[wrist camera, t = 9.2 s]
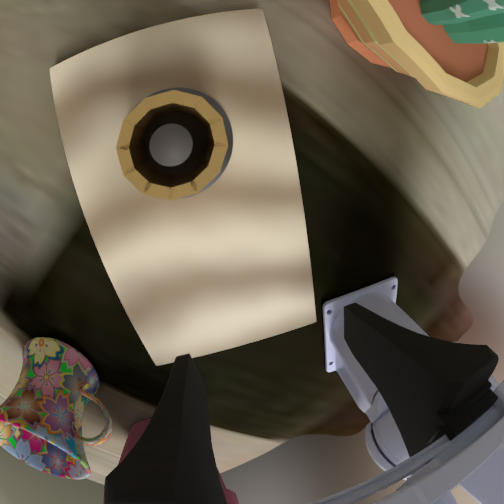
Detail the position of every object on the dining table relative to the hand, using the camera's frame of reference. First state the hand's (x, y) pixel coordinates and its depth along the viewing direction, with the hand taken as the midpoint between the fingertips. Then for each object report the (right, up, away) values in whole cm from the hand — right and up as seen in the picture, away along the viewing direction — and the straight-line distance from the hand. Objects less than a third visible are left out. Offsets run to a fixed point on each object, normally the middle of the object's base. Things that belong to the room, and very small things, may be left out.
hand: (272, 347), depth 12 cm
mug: (-18, -6, +9) cm, 21 cm away
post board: (-5, +8, +6) cm, 11 cm away
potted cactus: (+9, +23, +3) cm, 25 cm away
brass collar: (-5, +11, +3) cm, 12 cm away
